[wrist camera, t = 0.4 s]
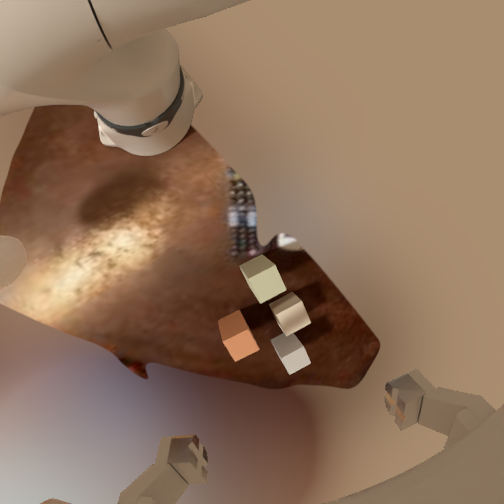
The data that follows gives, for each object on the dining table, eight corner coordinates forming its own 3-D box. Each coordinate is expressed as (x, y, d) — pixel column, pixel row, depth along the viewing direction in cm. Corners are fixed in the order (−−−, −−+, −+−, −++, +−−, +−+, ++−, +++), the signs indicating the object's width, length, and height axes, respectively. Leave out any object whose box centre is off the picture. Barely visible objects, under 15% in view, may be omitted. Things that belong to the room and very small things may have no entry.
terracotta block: (217, 320, 50) (222, 341, 42) (239, 309, 50) (248, 329, 43) (228, 338, 51) (235, 361, 43) (249, 328, 52) (259, 349, 44)
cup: (28, 226, 39) (-43, 246, 19) (57, 220, 40) (-13, 238, 20) (34, 264, 40) (-31, 300, 20) (63, 260, 42) (-1, 298, 22)
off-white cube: (268, 304, 51) (276, 314, 47) (292, 291, 52) (301, 300, 47) (278, 324, 53) (286, 336, 48) (300, 312, 53) (310, 323, 48)
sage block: (239, 265, 49) (248, 278, 41) (262, 254, 49) (275, 264, 42) (249, 287, 50) (260, 303, 42) (272, 276, 50) (286, 290, 43)
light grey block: (270, 340, 53) (280, 358, 46) (290, 329, 53) (303, 346, 47) (278, 355, 54) (289, 374, 47) (297, 345, 55) (311, 363, 48)
